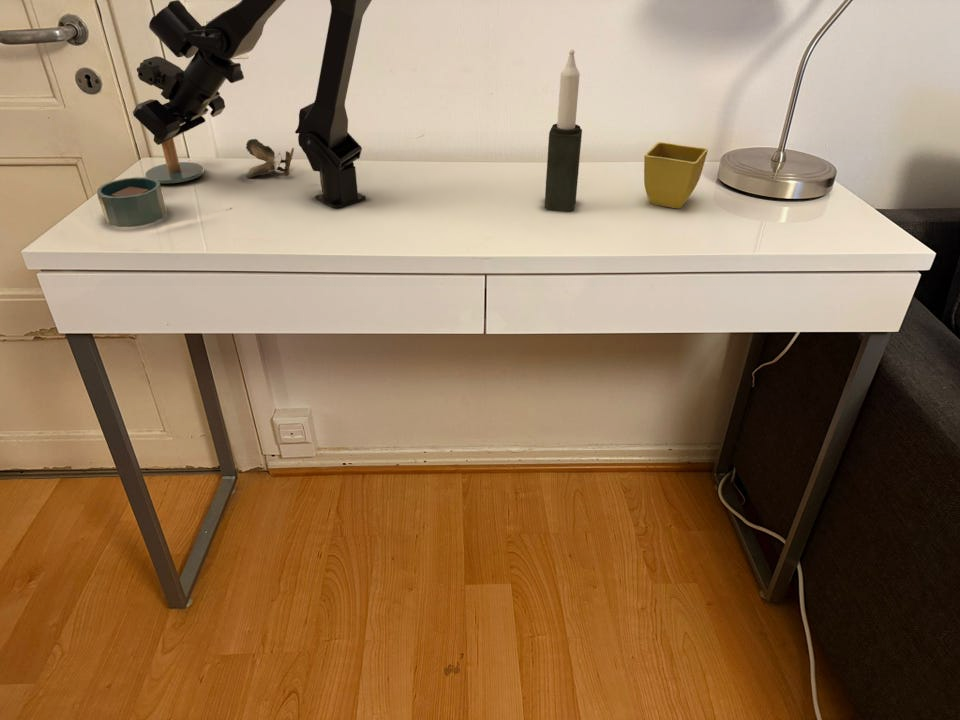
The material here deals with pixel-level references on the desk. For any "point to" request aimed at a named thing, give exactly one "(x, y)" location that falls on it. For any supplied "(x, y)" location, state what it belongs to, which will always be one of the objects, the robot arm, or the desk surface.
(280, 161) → the eagle figurine
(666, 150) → the flower pot
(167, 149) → the lid
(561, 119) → the candle
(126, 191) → the block
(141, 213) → the pot
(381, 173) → the desk surface
